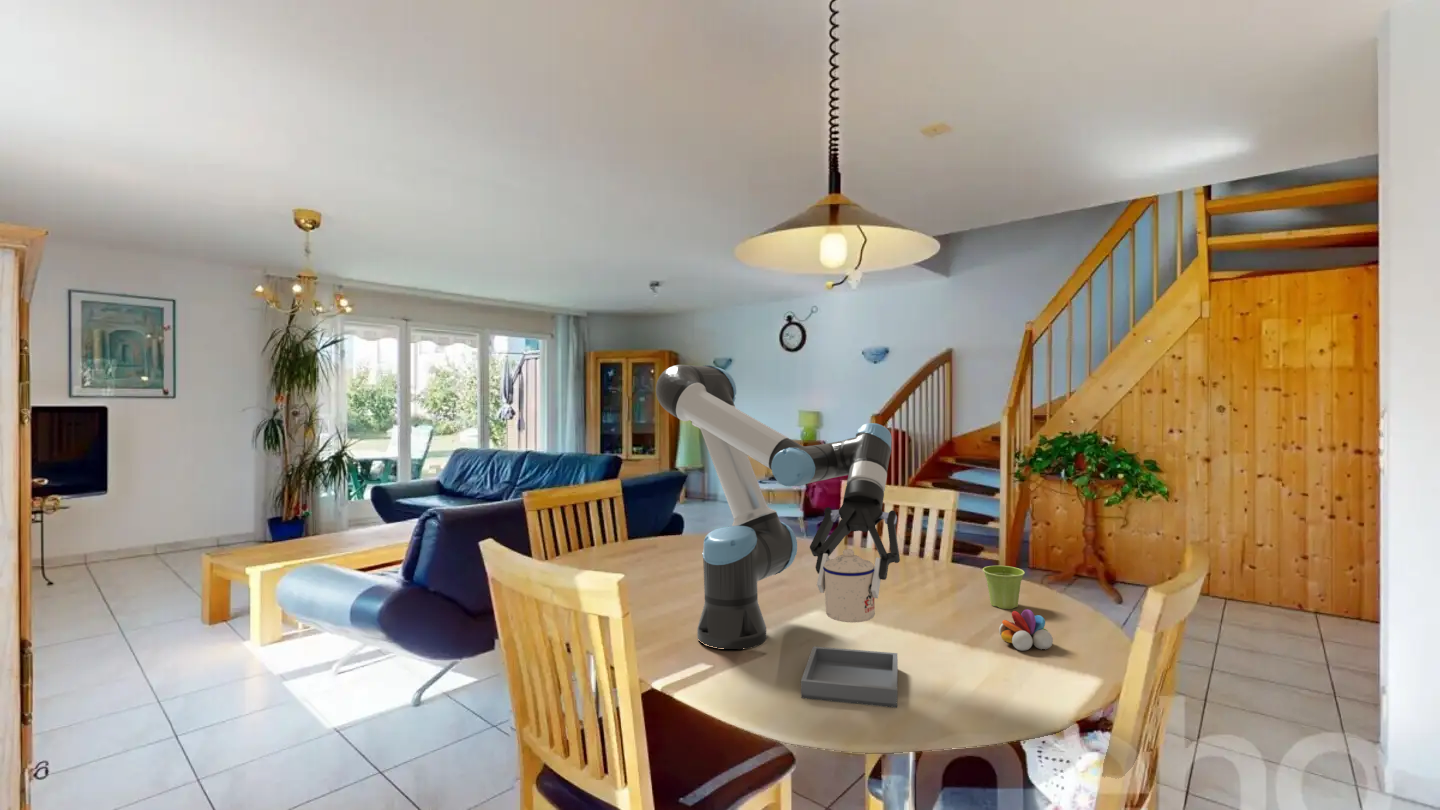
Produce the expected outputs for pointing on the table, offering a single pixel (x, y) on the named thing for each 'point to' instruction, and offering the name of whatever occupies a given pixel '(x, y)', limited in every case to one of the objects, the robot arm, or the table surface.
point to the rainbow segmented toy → (1026, 631)
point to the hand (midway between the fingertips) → (847, 591)
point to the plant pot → (1003, 585)
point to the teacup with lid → (849, 588)
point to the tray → (851, 676)
